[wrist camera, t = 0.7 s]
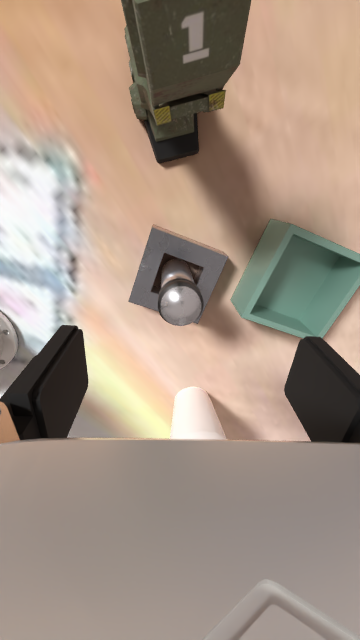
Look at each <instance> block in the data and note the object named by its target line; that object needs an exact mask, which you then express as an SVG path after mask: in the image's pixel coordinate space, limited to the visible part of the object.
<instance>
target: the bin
mask: <svg viewBox="0 0 360 640" xmlns="http://www.w3.org/2000/svg"><path fill="white" fill-rule="evenodd" d="M359 286H360V254H358V253H356V252H354V251H352V250H349V249H347V248H345V247H343V246H340V245H338V244H336V243H334V242H331V241H329V240H327V239H325V238H322V237H320V236H318V235H315V234H313V233H311V232H309V231H306V230H304V229H302V228H300V227H297V226H295V225H293V224H290V223H286V222H282V221H278V220H274V219H270V221H269V223H268V225H267V227H266V229H265V231H264V233H263V235H262V237H261V239H260V241H259V243H258V245H257V247H256V249H255V251H254V253H253V255H252V257H251V259H250V261H249V263H248V265H247V267H246V269H245V271H244V273H243V275H242V277H241V280H240V282H239V284H238V286H237V288H236V290H235V292H234V294H233V296H232V298H231V302H232V303H233V305H234V306H235V308H236V310H237V311H238V313H239V314H240V316H241V317H242V318H245V319H248V320H251V321H253V322H256V323H259V324H262V325H265V326H268V327H271V328H274V329H277V330H280V331H283V332H286V333H289V334H292V335H295V336H298V337H301V338H304V337H306V336H315V337H321V338H323V337H324V335H325V334H326V333H327V331H328V330H329V328H330V327H331V326H332V324H333V323H334V321H335V320H336V318H337V317H338V316H339V314H340V313H341V311H342V310H343V309H344V307H345V306H346V304H347V303H348V301H349V300H350V299H351V297H352V296H353V294H354V293H355V291H356V290H357V289H358V287H359Z"/></svg>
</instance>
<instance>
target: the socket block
mask: <svg viewBox="0 0 360 640" xmlns="http://www.w3.org/2000/svg"><path fill="white" fill-rule="evenodd" d="M164 253H167V254H169V255H172V256H175V257H177V258H180V259H183V260H185V261H188V262H191V263H193V264H196V265H199V268H198V271H197V273H196V276H195V278H194V283H195V284H196V285H197V286H198V288H199V290H200V292H201V295H202V297H203V301H204V306H203V310H202V313H203V311H204V309H205V307H206V304H207V302H208V300H209V298H210V296H211V294H212V291H213V289H214V287H215V285H216V283H217V280H218V278H219V276H220V274H221V272H222V269H223V267H224V265H225V263H226V261H227V259H228V256H227V255H226V254H225V253H224V252H222V251H220V250H217V249H215V248H212V247H210V246H207V245H205V244H202V243H199V242H197V241H194V240H192V239H189V238H187V237H184V236H182V235H179V234H176V233H174V232H171V231H169V230H166V229H164V228H161V227H159V226H156V225H153V226H152V229H151V232H150V235H149V239H148V242H147V245H146V248H145V251H144V254H143V258H142V261H141V264H140V267H139V270H138V273H137V276H136V280H135V283H134V286H133V289H132V292H131V295H130V298H129V302H131V303H134V304H137V305H141V306H144V307H147V308H150V309H153V310H156V311H159V310H158V295H159V292H160V289H161V288H160V287H157V286H154V285H153V283H154V280H155V277H156V274H157V272H158V269H159V266H160V263H161V260H162V257H163V254H164ZM202 313H201V315H202ZM201 315H200V316H199V317H198V318H197V319H196V320H195V321H194V323H197V324H198V322H199V320H200V318H201Z"/></svg>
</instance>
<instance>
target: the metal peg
mask: <svg viewBox="0 0 360 640" xmlns="http://www.w3.org/2000/svg"><path fill="white" fill-rule="evenodd" d="M203 306H204V301H203V297H202V295H201V292H200V290H199V288H198V286H197V285H196V284H195V283H194V280H193V277H192V274H191V271H190V268H189V266H188V265H187V263H186V262H184V261H183V260H180V259H172V260H170V261H168V262H167V263H165V265H164V266H163V268H162V277H161V289H160V292H159V295H158V310H159V313H160V315H161V317H162V318H163V319H164V320H165V321H167V322H168V323H170V324H173V325H177V326H184V325H188V324H190V323H192V322H194V321H195V320H196V319H197V318H198V317H199V316H200V315H201V313H202V310H203Z"/></svg>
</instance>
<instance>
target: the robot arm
mask: <svg viewBox="0 0 360 640" xmlns="http://www.w3.org/2000/svg"><path fill="white" fill-rule="evenodd" d="M17 349H18V338H17V335H16V332H15V329H14V327H13V326H12V324H11V322H10V321H9V320H8V319H7V318H6V316H5V315H3V314H2V313H1V312H0V369H2V368H3V367H5V366H6V365H7V364H8V363H9V362H10V361H11V360H12V359H13V358H14V356H15V354H16V352H17ZM87 387H88V374H87V365H86V357H85V348H84V339H83V332H82V330H81V329H78V327H77V326H70V325H62V326H61V327H60V328H59V329H58V330H57V332H56V333H55V334H54V335H53V336H52V338H51V339H50V340H49V341H48V343H47V344H46V345H45V346H44V348H43V349H42V350H41V351H40V353H39V354H38V355H37V356H35V357H34V358H33V359H32V360H31V361H30V363H29V364H28V365H27V366H26V368H25V369H24V370H23V371H22V373H21V374H20V375H19V376H18V377H17V379H16V380H15V381H14V382H13V384H12V385H11V386H10V387H9V388H8V390H7V391H6V392H5V393H4V395H3V396H2V397H1V398H0V640H360V375H359V374H358V373H357V372H356V371H355V370H354V369H353V368H352V367H351V366H350V365H349V364H348V363H347V362H346V361H345V360H344V359H343V358H342V357H341V356H340V355H339V354H338V353H337V352H336V351H335V350H334V349H333V348H332V347H331V346H330V345H328V344H327V343H326V342H325V341H324V340H323V339H322V338H321V337H315V336H306V337H304V339H301V340H300V342H299V344H298V347H297V350H296V354H295V357H294V360H293V363H292V366H291V369H290V372H289V375H288V378H287V381H286V384H285V388H284V391H285V395H286V397H287V399H288V400H289V402H290V404H291V406H292V407H293V409H294V411H295V413H296V415H297V416H298V418H299V420H300V422H301V423H302V425H303V427H304V429H305V431H306V432H307V434H308V436H309V438H310V440H311V441H312V442H308V441H268V440H217V439H153V438H67V436H68V433H69V431H70V429H71V426H72V424H73V421H74V419H75V417H76V414H77V412H78V410H79V407H80V405H81V402H82V400H83V398H84V395H85V393H86V390H87Z"/></svg>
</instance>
